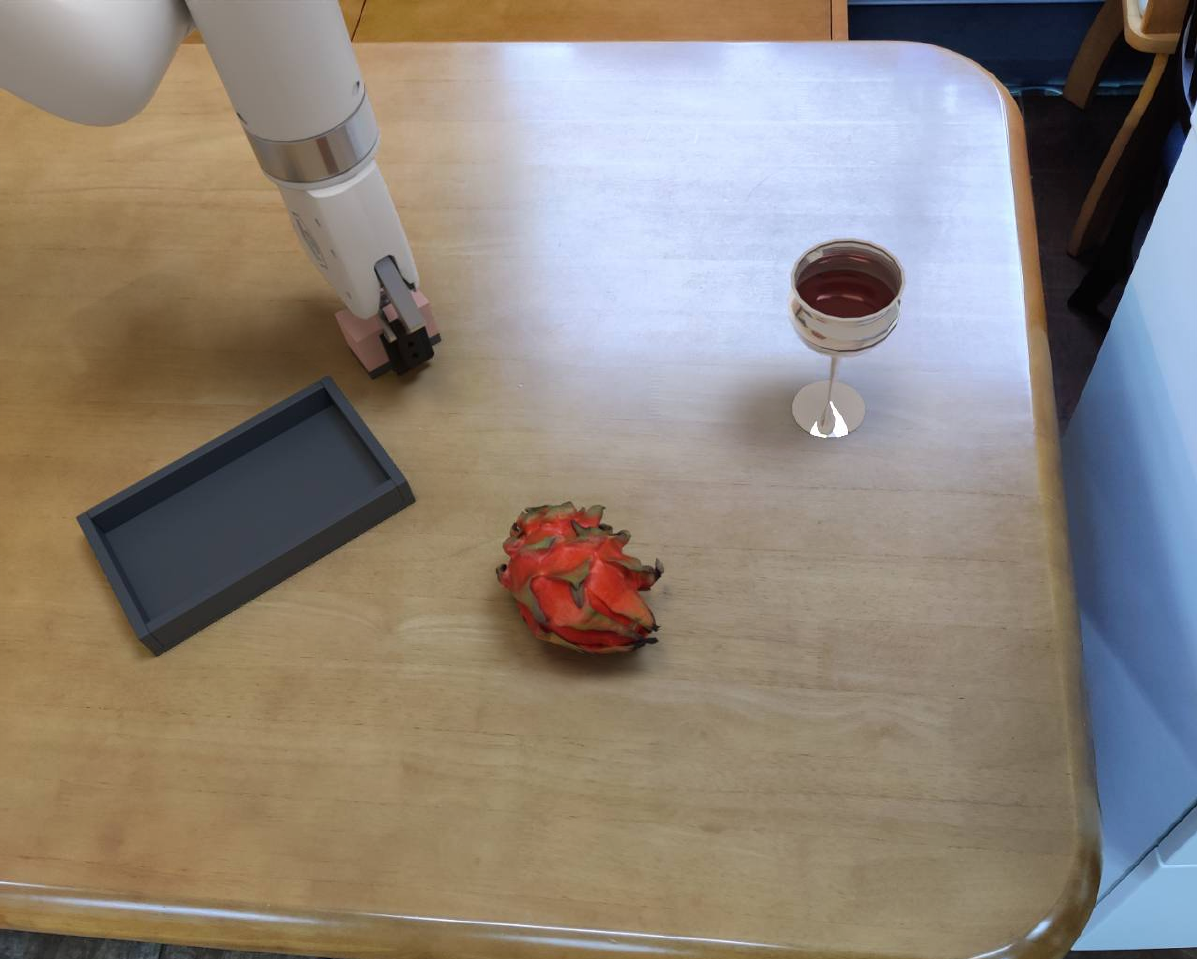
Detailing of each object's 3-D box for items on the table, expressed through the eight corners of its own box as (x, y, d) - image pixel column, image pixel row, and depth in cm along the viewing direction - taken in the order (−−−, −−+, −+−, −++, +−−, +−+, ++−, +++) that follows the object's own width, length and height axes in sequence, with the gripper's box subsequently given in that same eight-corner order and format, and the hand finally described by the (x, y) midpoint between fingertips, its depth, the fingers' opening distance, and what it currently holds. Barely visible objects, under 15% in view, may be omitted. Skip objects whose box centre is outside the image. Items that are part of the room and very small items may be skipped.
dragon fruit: (528, 552, 71) (655, 674, 68) (441, 588, 64) (576, 725, 61) (581, 455, 66) (721, 582, 63) (493, 484, 59) (643, 627, 56)
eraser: (372, 379, 78) (356, 342, 74) (350, 351, 79) (334, 313, 76) (441, 340, 79) (429, 301, 75) (419, 313, 80) (405, 274, 77)
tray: (156, 657, 68) (138, 639, 66) (93, 536, 73) (74, 516, 71) (416, 501, 72) (407, 480, 70) (339, 396, 77) (328, 374, 75)
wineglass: (760, 393, 74) (768, 263, 63) (846, 356, 74) (867, 222, 64) (809, 463, 70) (826, 338, 60) (898, 424, 71) (929, 294, 61)
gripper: (198, 84, 65) (298, 295, 81) (321, 235, 58) (405, 436, 74) (304, 32, 67) (382, 250, 83) (437, 174, 59) (495, 383, 75)
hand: (392, 336), depth 78 cm, fingers open, 5 cm apart
